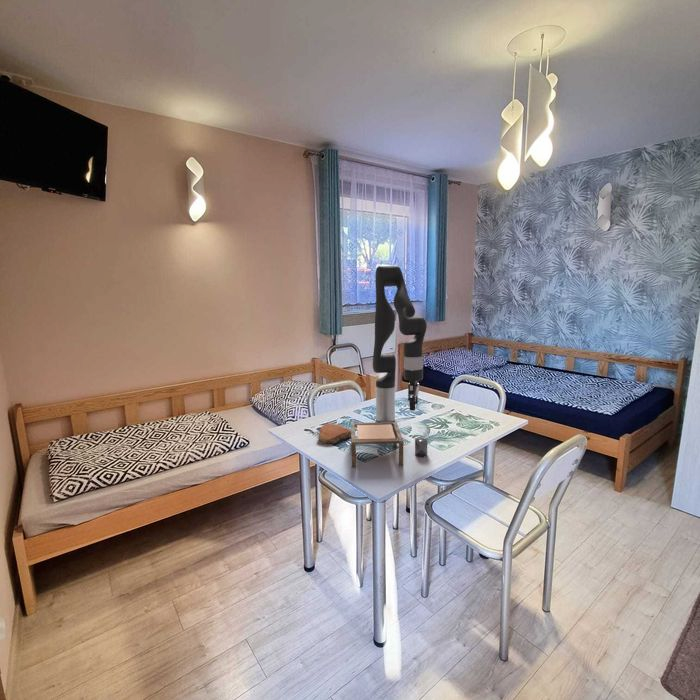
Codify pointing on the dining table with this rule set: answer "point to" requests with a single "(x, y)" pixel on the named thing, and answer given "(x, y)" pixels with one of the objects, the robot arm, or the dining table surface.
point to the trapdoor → (375, 432)
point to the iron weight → (421, 447)
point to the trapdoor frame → (393, 441)
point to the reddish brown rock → (333, 433)
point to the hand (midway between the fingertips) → (413, 407)
